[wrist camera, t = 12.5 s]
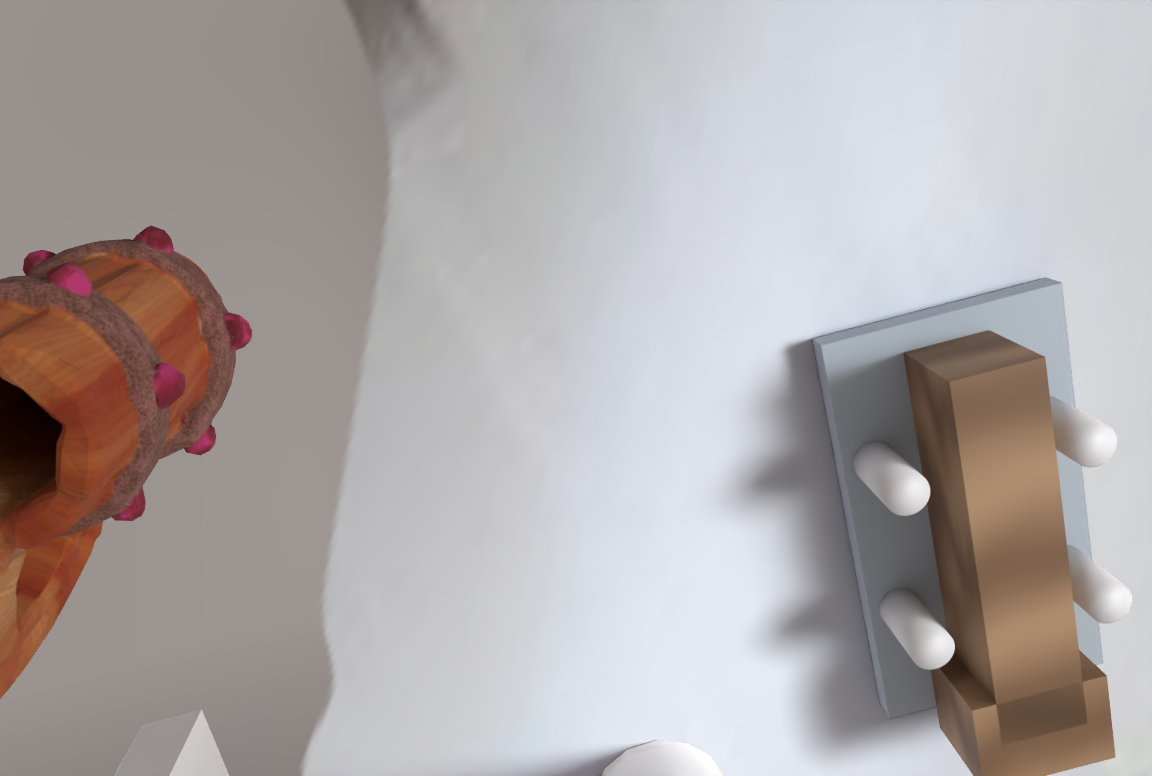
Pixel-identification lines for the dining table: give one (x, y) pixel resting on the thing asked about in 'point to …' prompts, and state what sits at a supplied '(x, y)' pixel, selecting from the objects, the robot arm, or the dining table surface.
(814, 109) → the dining table surface
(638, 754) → the foam cup
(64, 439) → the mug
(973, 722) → the wooden toy mallet
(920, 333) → the rack
